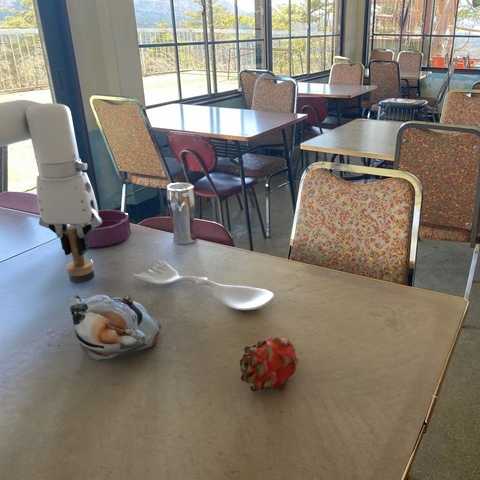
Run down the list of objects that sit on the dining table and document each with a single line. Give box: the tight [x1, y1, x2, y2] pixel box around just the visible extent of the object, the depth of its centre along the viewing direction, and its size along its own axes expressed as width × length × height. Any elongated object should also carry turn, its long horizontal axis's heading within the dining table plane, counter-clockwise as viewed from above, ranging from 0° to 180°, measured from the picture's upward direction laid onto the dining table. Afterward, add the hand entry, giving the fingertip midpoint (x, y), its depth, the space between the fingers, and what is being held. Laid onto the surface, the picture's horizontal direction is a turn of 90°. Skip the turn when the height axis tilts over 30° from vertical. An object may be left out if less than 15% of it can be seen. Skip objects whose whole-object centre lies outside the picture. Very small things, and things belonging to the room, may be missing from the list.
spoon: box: [131, 258, 275, 311], centre depth 102 cm, size 9×32×4 cm, turn 66°
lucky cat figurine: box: [67, 294, 162, 361], centre depth 82 cm, size 15×12×14 cm
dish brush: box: [65, 225, 96, 284], centre depth 103 cm, size 5×5×12 cm
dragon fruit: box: [239, 336, 299, 393], centre depth 77 cm, size 8×8×12 cm
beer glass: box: [166, 182, 198, 246], centre depth 125 cm, size 7×7×15 cm
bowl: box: [68, 209, 132, 248], centre depth 127 cm, size 14×14×6 cm
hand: (76, 251), depth 102 cm, fingers closed on dish brush
